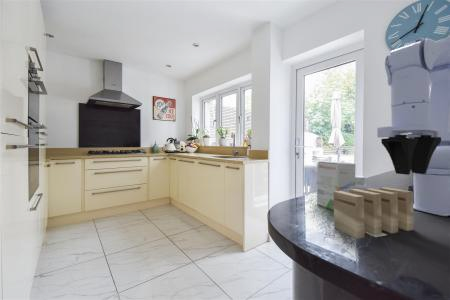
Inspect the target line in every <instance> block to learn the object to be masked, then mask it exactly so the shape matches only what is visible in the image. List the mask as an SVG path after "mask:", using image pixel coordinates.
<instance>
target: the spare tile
mask: <svg viewBox="0 0 450 300" xmlns="http://www.w3.org/2000/svg"><path fill="white" fill-rule="evenodd" d="M349 191H350V193H352V194H356V195H361V196H364V229H365V231H366V232H368V233H371V234H373V235H379V234H382V233H383V232H382V231H383V230H382V221H381V194H379V193H374V192H369V191H364V190H359V189H349Z"/></svg>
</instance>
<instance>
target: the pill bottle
mask: <svg viewBox="0 0 450 300" xmlns="http://www.w3.org/2000/svg"><path fill="white" fill-rule="evenodd" d="M365 183H366V177H365V176H364V175H355V189H359V190H364V191H365V189H369V188H368V186H367V184H365Z"/></svg>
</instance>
